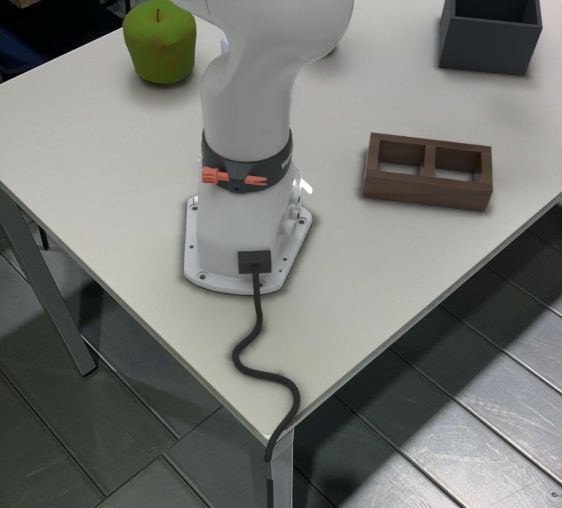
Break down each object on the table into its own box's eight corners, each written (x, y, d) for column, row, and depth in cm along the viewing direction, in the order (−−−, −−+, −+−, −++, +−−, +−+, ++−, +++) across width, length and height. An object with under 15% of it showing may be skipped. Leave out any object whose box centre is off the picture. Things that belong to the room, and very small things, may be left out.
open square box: (524, 76, 112) (542, 27, 105) (438, 66, 113) (450, 18, 106) (520, 28, 121) (537, -20, 113) (440, 20, 122) (451, -28, 114)
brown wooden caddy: (484, 211, 94) (493, 191, 91) (361, 196, 95) (365, 175, 92) (483, 167, 99) (491, 146, 96) (367, 153, 101) (370, 131, 97)
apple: (143, 49, 114) (132, -16, 105) (208, 57, 113) (202, -7, 104) (122, 89, 108) (108, 24, 98) (190, 99, 107) (182, 34, 97)
